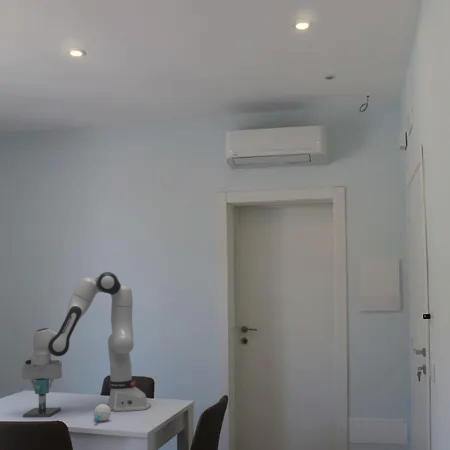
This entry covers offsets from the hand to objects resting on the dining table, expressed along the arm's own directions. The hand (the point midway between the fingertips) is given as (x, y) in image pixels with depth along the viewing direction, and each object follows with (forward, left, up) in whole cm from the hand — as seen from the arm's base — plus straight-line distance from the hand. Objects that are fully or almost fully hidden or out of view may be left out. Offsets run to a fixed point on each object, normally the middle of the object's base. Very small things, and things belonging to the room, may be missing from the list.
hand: (41, 387), depth 302 cm
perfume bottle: (-36, +18, -13) cm, 42 cm away
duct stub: (0, 0, -13) cm, 13 cm away
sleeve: (0, +2, -3) cm, 3 cm away
